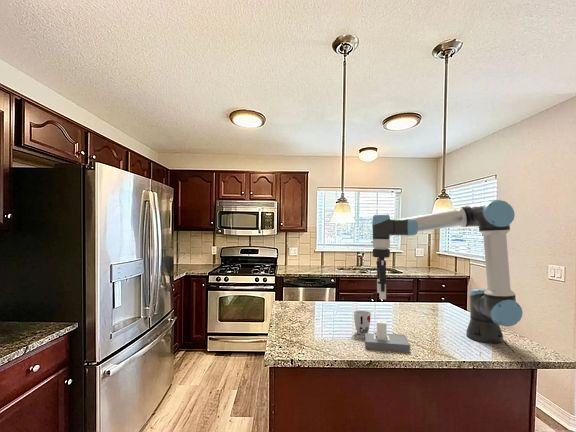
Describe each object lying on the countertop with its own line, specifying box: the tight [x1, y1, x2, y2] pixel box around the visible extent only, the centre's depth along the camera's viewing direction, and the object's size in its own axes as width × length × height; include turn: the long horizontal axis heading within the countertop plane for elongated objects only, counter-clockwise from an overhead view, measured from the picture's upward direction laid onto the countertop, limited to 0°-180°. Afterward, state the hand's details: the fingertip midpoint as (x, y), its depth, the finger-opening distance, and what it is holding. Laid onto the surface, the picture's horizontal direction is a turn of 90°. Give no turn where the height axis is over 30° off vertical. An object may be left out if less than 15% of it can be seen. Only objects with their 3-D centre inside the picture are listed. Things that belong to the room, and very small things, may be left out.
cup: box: [353, 310, 372, 336], centre depth 164 cm, size 8×8×10 cm
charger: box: [376, 320, 387, 339], centre depth 147 cm, size 4×4×10 cm
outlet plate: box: [364, 332, 411, 353], centre depth 146 cm, size 18×12×3 cm, turn 79°
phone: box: [374, 332, 406, 336], centre depth 157 cm, size 14×7×1 cm, turn 80°
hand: (381, 295), depth 148 cm, fingers open, 13 cm apart
